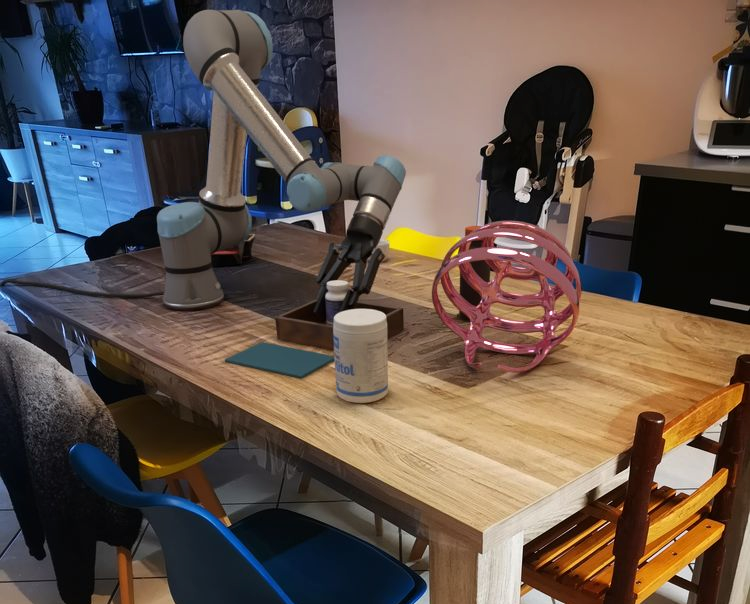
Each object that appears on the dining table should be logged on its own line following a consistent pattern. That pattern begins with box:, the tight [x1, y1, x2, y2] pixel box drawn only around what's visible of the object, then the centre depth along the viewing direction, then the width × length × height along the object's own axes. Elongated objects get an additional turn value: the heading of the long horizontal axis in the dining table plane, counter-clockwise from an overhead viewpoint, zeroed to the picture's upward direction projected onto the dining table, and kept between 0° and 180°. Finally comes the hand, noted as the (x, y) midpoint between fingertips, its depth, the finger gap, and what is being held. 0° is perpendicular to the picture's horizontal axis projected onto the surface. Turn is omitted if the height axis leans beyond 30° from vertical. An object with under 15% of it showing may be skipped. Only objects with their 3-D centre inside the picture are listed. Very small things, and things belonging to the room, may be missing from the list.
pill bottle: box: [325, 279, 352, 326], centre depth 164 cm, size 6×6×10 cm
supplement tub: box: [333, 309, 389, 404], centre depth 134 cm, size 10×10×15 cm
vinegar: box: [458, 225, 491, 322], centre depth 169 cm, size 7×7×20 cm
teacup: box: [367, 239, 390, 263], centre depth 223 cm, size 10×8×5 cm
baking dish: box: [210, 233, 256, 267], centre depth 228 cm, size 14×18×10 cm
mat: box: [224, 341, 335, 379], centre depth 154 cm, size 20×12×1 cm, turn 57°
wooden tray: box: [274, 298, 405, 351], centre depth 166 cm, size 22×18×5 cm
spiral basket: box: [431, 220, 583, 374], centre depth 142 cm, size 28×28×27 cm
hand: (329, 317), depth 162 cm, fingers closed on pill bottle, 6 cm apart
